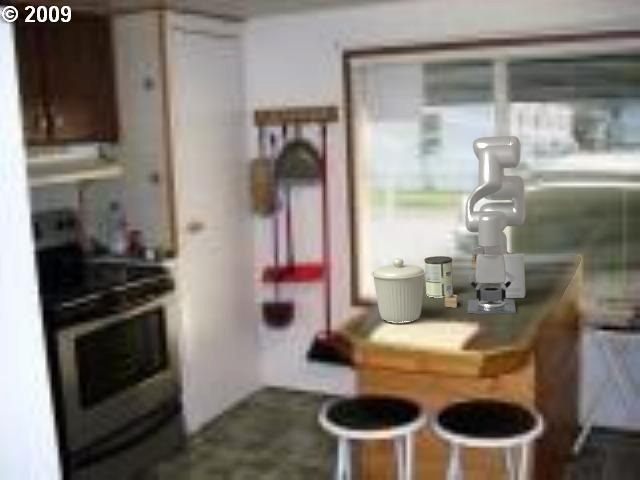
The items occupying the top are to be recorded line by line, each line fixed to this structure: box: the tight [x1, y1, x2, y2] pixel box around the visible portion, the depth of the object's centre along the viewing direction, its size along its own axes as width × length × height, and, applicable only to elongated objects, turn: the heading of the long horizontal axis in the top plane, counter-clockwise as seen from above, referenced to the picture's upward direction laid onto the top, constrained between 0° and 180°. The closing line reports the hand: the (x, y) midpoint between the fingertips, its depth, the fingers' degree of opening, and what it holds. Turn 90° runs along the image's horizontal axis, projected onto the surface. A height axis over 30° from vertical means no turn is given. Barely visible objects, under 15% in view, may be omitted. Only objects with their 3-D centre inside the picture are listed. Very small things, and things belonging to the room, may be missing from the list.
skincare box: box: [500, 253, 526, 299], centre depth 289 cm, size 8×7×16 cm
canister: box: [371, 257, 426, 322], centre depth 265 cm, size 18×18×21 cm
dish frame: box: [471, 252, 517, 270], centre depth 353 cm, size 20×19×3 cm
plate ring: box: [480, 286, 502, 302], centre depth 275 cm, size 7×7×4 cm
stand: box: [444, 292, 458, 308], centre depth 282 cm, size 6×4×4 cm, turn 168°
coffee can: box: [424, 255, 454, 299], centre depth 298 cm, size 10×10×14 cm
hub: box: [467, 298, 517, 315], centre depth 275 cm, size 16×16×4 cm
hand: (491, 300), depth 276 cm, fingers closed on plate ring, 7 cm apart
